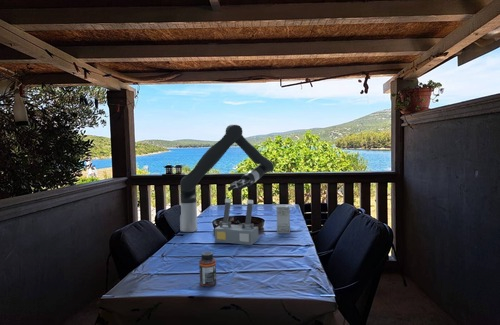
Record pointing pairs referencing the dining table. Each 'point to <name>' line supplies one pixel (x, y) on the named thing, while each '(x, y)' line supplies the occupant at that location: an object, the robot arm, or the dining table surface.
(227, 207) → the lever with pale knob
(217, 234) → the switch box
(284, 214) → the circuit breaker
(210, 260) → the supplement bottle
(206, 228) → the dining table surface
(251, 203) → the lever grey
